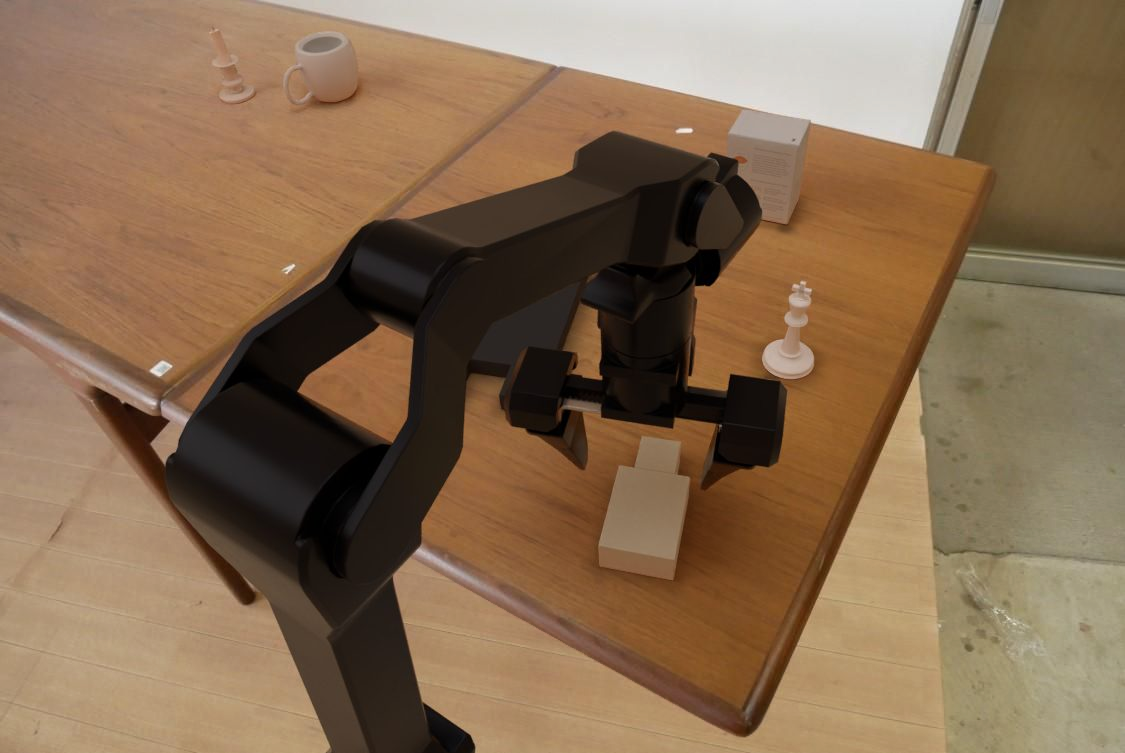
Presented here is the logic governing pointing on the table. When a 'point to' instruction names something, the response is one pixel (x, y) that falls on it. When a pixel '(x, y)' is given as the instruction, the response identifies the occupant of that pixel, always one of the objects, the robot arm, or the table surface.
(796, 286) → the chess piece
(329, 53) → the mug
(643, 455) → the beige stepped block
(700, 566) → the table surface
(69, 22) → the table surface
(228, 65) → the candle
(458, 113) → the table surface
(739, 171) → the small box
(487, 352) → the socket pad
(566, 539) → the table surface
